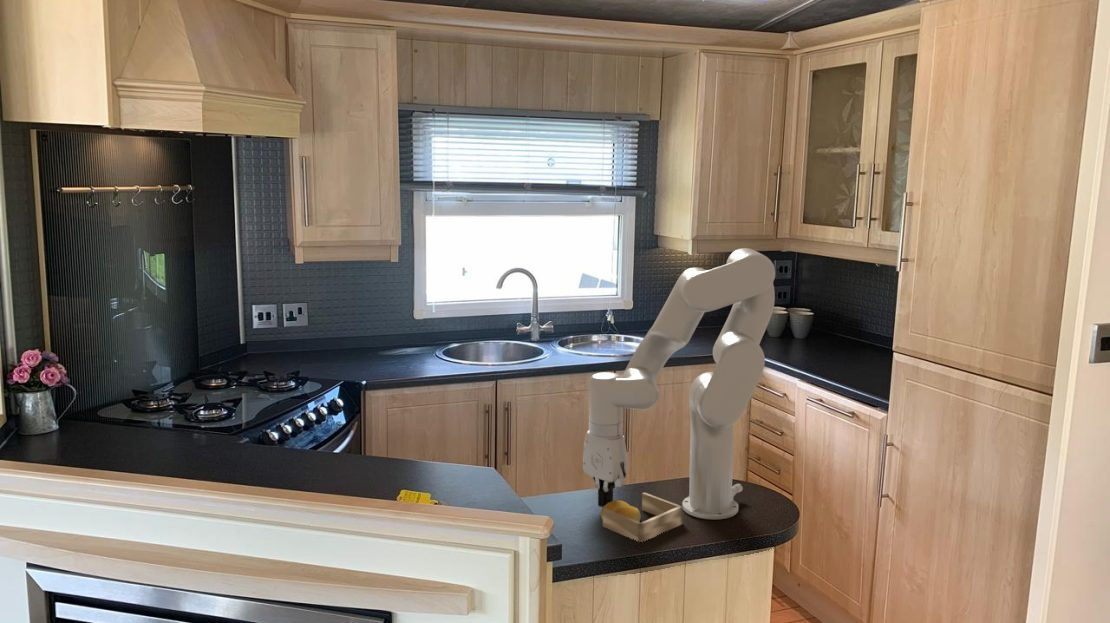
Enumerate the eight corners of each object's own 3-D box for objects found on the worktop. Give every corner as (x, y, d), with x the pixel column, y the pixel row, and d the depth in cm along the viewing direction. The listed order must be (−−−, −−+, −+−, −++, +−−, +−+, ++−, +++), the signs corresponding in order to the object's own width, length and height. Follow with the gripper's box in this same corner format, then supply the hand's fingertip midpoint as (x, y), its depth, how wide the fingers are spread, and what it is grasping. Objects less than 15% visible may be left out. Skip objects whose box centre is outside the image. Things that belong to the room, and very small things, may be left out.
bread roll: (620, 532, 186) (620, 515, 185) (594, 518, 193) (594, 501, 192) (649, 522, 191) (649, 505, 190) (623, 509, 198) (623, 492, 197)
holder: (644, 508, 197) (644, 492, 197) (682, 523, 189) (683, 506, 189) (602, 526, 188) (602, 509, 188) (641, 543, 180) (641, 525, 180)
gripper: (570, 424, 196) (571, 500, 200) (618, 439, 185) (617, 520, 189) (594, 417, 201) (594, 491, 205) (642, 432, 190) (641, 510, 194)
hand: (605, 505), depth 197 cm, fingers closed
